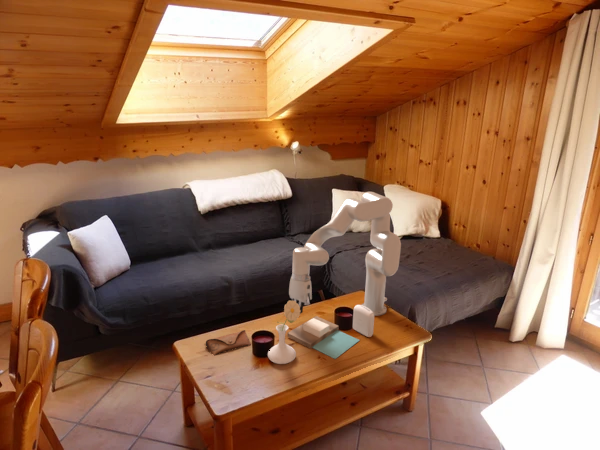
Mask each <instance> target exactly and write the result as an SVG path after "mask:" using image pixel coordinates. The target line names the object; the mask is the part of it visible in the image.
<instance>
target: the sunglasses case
mask: <svg viewBox="0 0 600 450" xmlns="http://www.w3.org/2000/svg"><path fill="white" fill-rule="evenodd" d="M251 344H252V343H251V341H250V339H249V337H248V335H247V332H246V330H244V329H243V330H241V331H238V332H232V333H228V334H225V335H222V336H218V337H214V338H209V339H207V340H206V341H205V347H206V346H207V347H206V348H207V350H208V352H209V353H210V352H211V353H210V354H211V355H212V354H213V355H214V356H217V355H219V353H220V354H221V353H222V352H223V353H225V351H226V352H230V351H232V349H233V350H235V348H236V349H239V348H242V347H243V346H244V347H248V345H249V346H251ZM213 355H212V356H213Z"/></svg>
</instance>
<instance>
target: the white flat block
mask: <svg viewBox="0 0 600 450" xmlns="http://www.w3.org/2000/svg"><path fill="white" fill-rule="evenodd" d="M312 318H313V319H312ZM312 318H310V319H311V320H310V319H309V320H307V321H308V322H307V321H305V322H306V323H305V322H303V323H304V324H303V323H302V324H303V330H304V331H307V332H309V333H311V334H313V335H315V336H317V337H321V336H323V335H324V334H326V333H327V332H329V325H328V324H326V323H324V322H321V321H319V320H317V319H315V318H314V317H312Z"/></svg>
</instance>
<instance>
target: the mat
mask: <svg viewBox="0 0 600 450" xmlns="http://www.w3.org/2000/svg"><path fill="white" fill-rule="evenodd" d="M360 340H361V339H359V338H357V337H353V336H352V335H350V334H347V333H345V332H343V331H341V330H336V331H335V332H334V333H332V334H331V335H329V336H328V337H326V338H325V339H323V340H322V341H320V342H319V343H317V344H316V345H314V346H313V347H312V348H311V349H314V350H316V351H317V352H320V353H322V354H324V355H326V356H328V357H330V358H332V359H334V360H336V359H338V358H339V357H341V356H342V355H343V354H344V353H345V352H347V351H348V350H349V349H350V348H352V347H353V346H355V345H356V344H357V343H359V342H360Z"/></svg>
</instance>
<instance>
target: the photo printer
mask: <svg viewBox="0 0 600 450" xmlns="http://www.w3.org/2000/svg"><path fill="white" fill-rule="evenodd" d="M352 311H353V314H352V329H353V330H355V331H356V332H358V333H359V334H361V335H363V336H366V337H368V338H370V337H372V336H373V335H374V329H375V327H374V326H375V325H374V324H375V316H374V313H373V312H372V311H371V310H370V309H369V308H367V307H365V306H362V304H356V305H355V306H354V307H353V310H352Z"/></svg>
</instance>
